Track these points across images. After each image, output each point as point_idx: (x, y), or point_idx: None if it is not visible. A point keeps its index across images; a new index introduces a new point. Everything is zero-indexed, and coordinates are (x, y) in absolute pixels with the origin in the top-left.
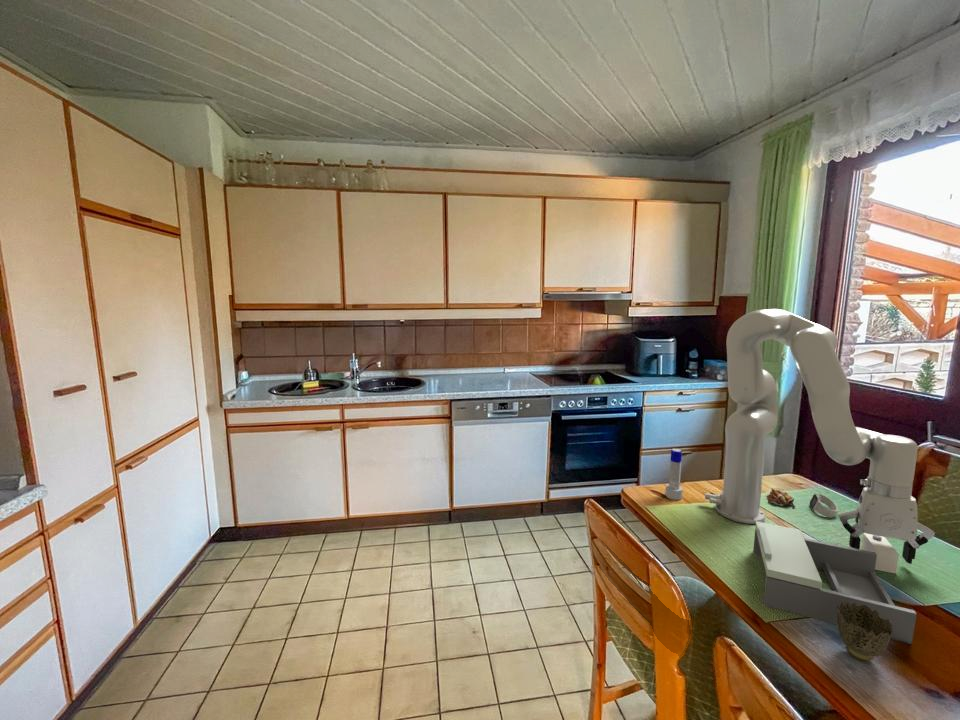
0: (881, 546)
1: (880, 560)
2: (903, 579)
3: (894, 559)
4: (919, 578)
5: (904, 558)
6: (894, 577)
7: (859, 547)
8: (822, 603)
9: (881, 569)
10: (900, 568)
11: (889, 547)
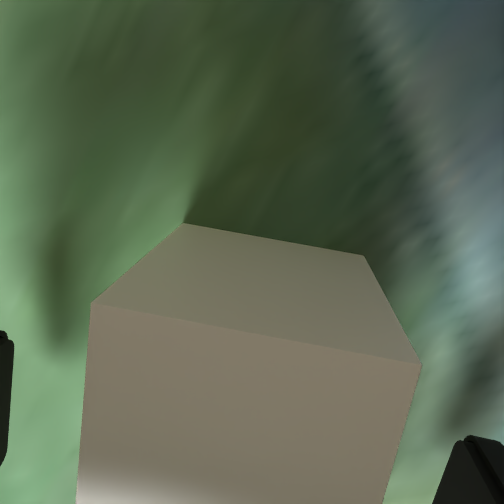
0: (250, 498)
1: (328, 282)
2: (165, 125)
3: (172, 274)
4: (4, 188)
5: (4, 412)
6: (237, 141)
7: (493, 494)
8: None
9: (301, 247)
10: None
11: (134, 491)
